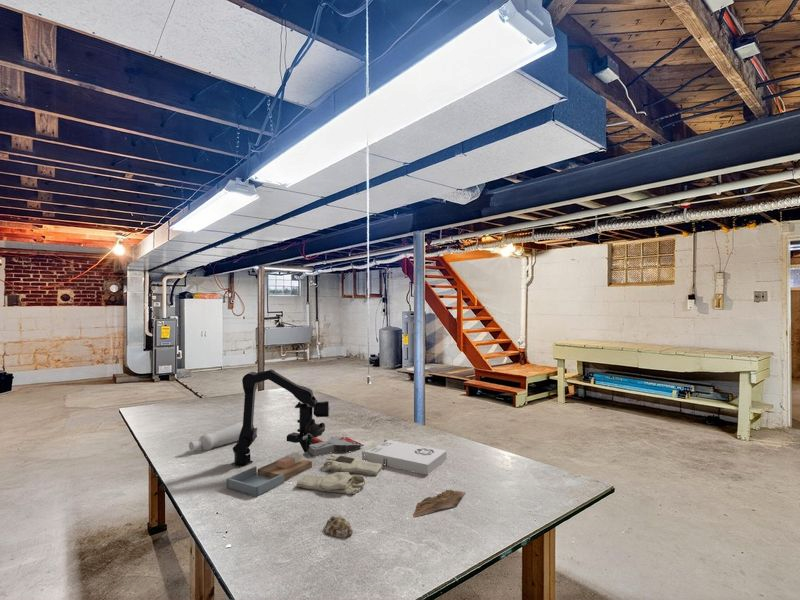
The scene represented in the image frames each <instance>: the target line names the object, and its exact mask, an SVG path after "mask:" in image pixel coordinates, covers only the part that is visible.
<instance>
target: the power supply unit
mask: <svg viewBox="0 0 800 600" xmlns="http://www.w3.org/2000/svg"><path fill="white" fill-rule="evenodd" d="M447 456H448V455H447V450H445V449H440V448H435V447H434V448H433V447H429V446H424V445H423V446H422V445H417V444H413V443H412V444H411V443H405V442H401V441H397V440H396V441H395V440H390V439H384V440H383V442H382V443H380V444H378V445H377V446H374V447H373V448H371V449H368V451H365V450H362V451H361V460H365V461H366V460H367V461H368V462H372V463H378V464H382V466H383V465H384V464H385V465H384V466H385V467H386V465H387V467H388V466H389V467H388V468H392V467H394V468H393V469H397V468H399V469H398V470H401V469H403V471H406V470H408V471H407V472H410V471H414V472H413V473H415V472H418V473H417V474H419V473H423V474H422V475H424V474H429V473H430V474H432V473H433V472H434V471H435V470H437V469H438V468H439V467H440V466H441V465H440V464H442V463H443V462H444V461H445V460H447V458H448V457H447ZM445 462H446V461H445ZM445 462H444V463H445ZM444 463H443V464H444ZM443 464H442V465H443ZM439 465H440V466H439ZM438 466H439V467H438ZM437 467H438V468H437ZM436 468H437V469H436ZM434 469H435V470H434ZM433 470H434V471H433ZM432 471H433V472H432ZM431 472H432V473H431ZM430 474H429V475H430Z"/></svg>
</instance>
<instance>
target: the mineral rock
mask: <svg viewBox="0 0 800 600" xmlns="http://www.w3.org/2000/svg"><path fill="white" fill-rule="evenodd" d="M353 532H354V531H353V529H352V526H351V524H350V522H349V521H347V520H346V519H345V518H343V517H342V516H333V515H332V516H330V518H329V519H327V521H326V524H325V525H324V533H325V534H328V535H330V536H332V537H337V538H347V537H351V536H352V534H353Z"/></svg>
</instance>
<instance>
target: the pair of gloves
mask: <svg viewBox="0 0 800 600" xmlns="http://www.w3.org/2000/svg"><path fill="white" fill-rule="evenodd" d="M381 469H383V465H382V464H378V463H372V462H367V461H364V460H362V459H360V458H358V457H357V458H356V457H351V456H345V455H338V454H335V453H330V456H326V457H325V461H323V465H322V468H321V472H328V471H332V472H333V473H331V474H330V473H329V474H326V475H317V474H306V475H304V476H303V477H301V478H299V480H297V482H296V487H297V488H303V489H307V490H315V491H321V492H325V493H338V494H339V493H341V494H346V495H353V494H356V493H359V492H360V491H362V488H363V487H364V486H365V485H366V480H365V476H364V475H366V474H367V476H372V475H375V476H374V477H377V476H378V475H379V474H380V473H381V472H382V470H381ZM379 472H380V473H379ZM378 473H379V474H378ZM352 474H353V475H352ZM356 474H360V475H356ZM361 474H364V475H361ZM377 474H378V475H377Z"/></svg>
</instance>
